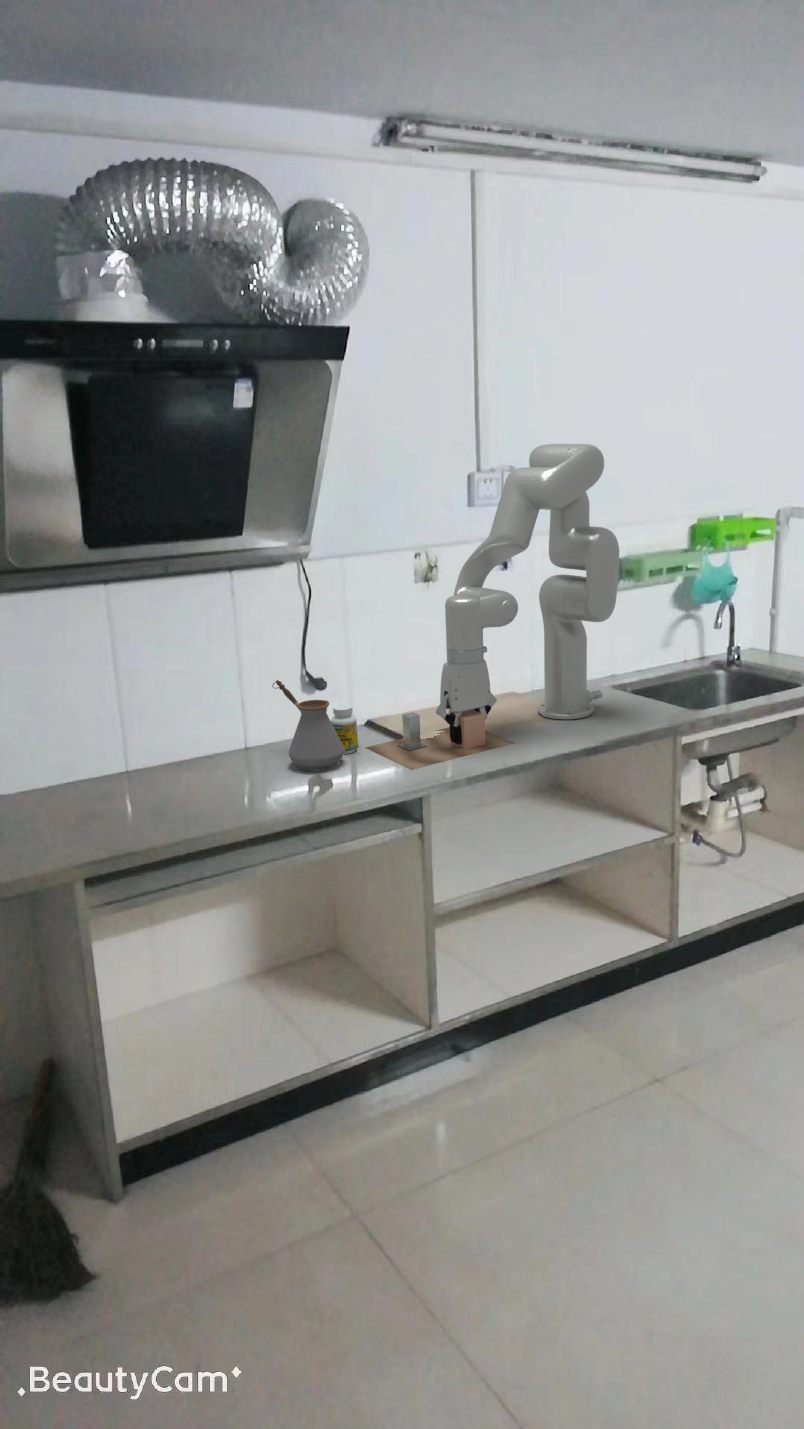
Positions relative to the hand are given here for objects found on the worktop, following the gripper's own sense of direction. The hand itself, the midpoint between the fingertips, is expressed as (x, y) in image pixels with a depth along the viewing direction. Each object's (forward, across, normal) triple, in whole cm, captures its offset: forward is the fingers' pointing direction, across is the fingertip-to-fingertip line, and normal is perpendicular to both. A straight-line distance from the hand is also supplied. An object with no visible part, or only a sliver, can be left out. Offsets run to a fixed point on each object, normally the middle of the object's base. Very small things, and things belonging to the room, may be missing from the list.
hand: (467, 739), depth 220 cm
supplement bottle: (+2, +21, -15) cm, 26 cm away
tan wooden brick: (+1, 0, 0) cm, 1 cm away
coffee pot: (+2, +30, -16) cm, 34 cm away
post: (+2, +10, -6) cm, 12 cm away
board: (+2, +5, -3) cm, 6 cm away
